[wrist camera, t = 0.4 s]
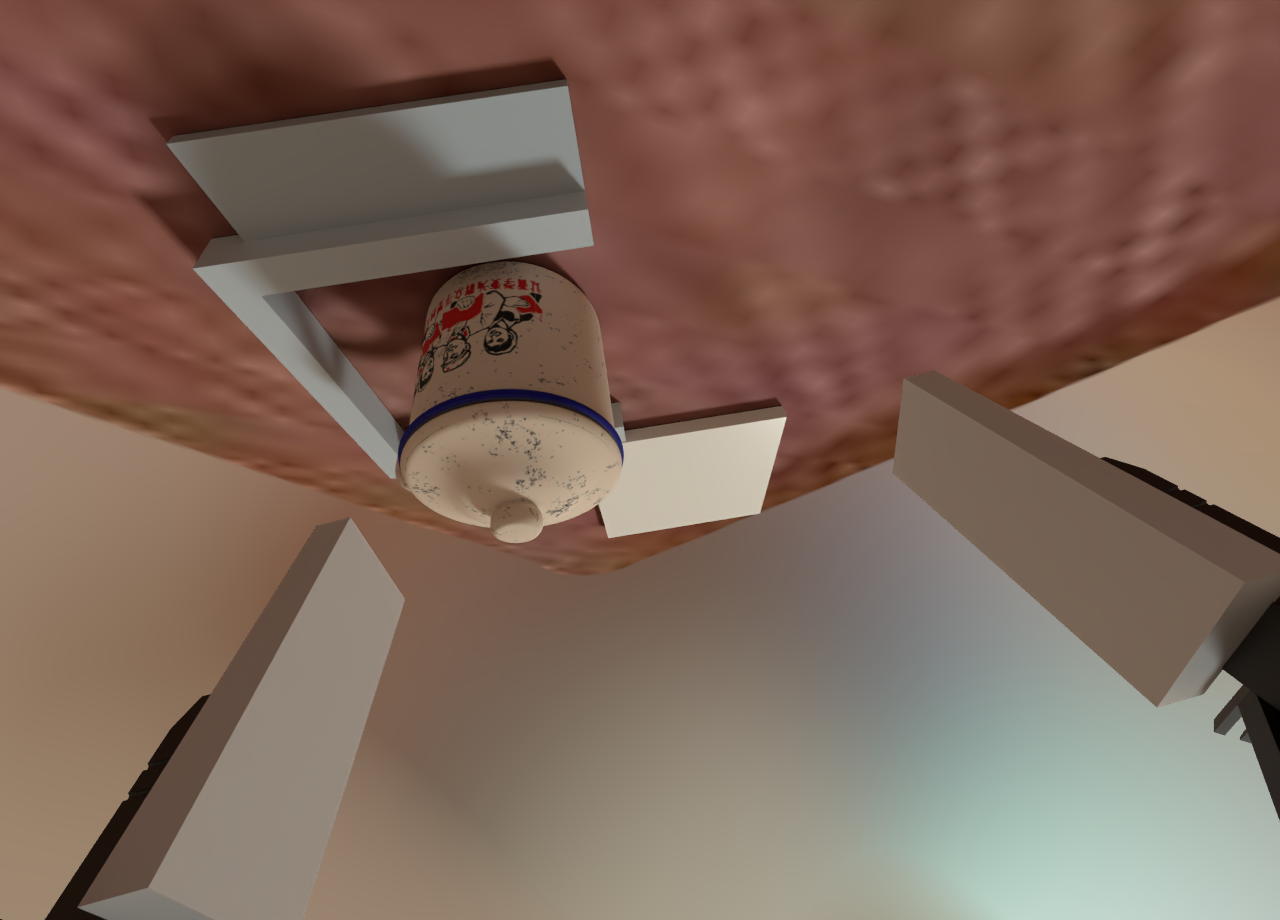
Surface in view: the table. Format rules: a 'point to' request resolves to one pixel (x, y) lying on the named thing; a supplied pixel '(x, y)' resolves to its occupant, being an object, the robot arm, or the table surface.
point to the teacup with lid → (510, 404)
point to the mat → (693, 472)
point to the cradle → (381, 216)
